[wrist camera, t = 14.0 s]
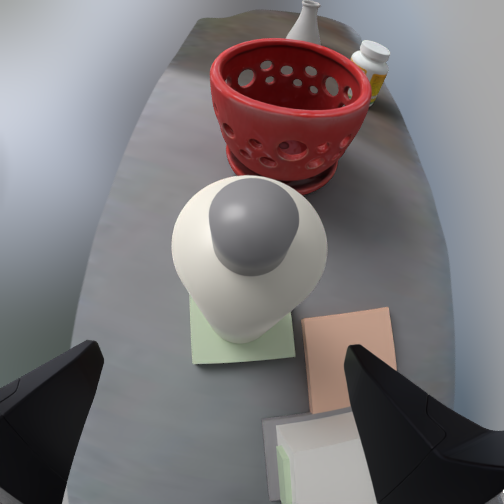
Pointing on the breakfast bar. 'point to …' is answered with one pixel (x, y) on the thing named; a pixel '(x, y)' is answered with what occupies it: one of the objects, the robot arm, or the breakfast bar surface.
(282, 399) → the breakfast bar surface
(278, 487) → the grey unit
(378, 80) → the supplement bottle
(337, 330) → the terracotta pad
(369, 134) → the breakfast bar surface
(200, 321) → the sage green pad
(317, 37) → the flask
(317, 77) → the plant pot
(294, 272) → the cream bottle
